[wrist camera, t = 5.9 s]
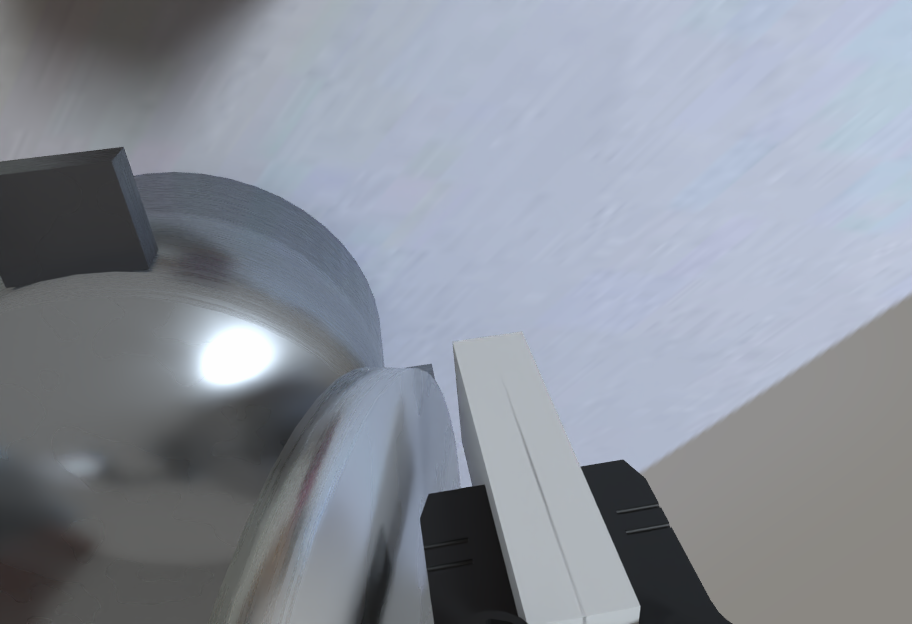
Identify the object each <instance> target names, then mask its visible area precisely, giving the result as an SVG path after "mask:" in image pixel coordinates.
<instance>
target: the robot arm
mask: <svg viewBox="0 0 912 624" xmlns="http://www.w3.org/2000/svg"><path fill="white" fill-rule="evenodd" d="M453 352H454V362H455V373H456V383H457V394H458V404H459V415H460V426H461V436H462V443H463V447H464V452H465V456H466V460H467V465H468V469H469V473H470V477H471V482H472V487H466V488H460V489H454V490H448V491H442V492H436V493H430V494H428V497H427V499H426V502H425V505H424V508H423V511H422V514H421V517H420V524H421V532H422V539H423V546H424V554H425V561H426V568H427V576H428V583H429V590H430V597H431V605H432V612H433V619H434V624H732V623H730V622H729V621H727V620H726V619H725V618H724V617H723V616H722V615H721V614H720V613H719V612H718V610H717V609H716V607H715V606H714V605H713V603H712V602H711V600H710V598H709V596H708V595H707V593H706V591H705V589H704V587H703V585H702V583H701V581H700V580H699V578H698V576H697V574H696V572H695V570H694V568H693V567H692V565H691V563H690V561H689V559H688V557H687V555H686V553H685V552H684V550H683V548H682V546H681V544H680V542H679V541H678V538H677V537H676V535H675V533H674V531H673V529H672V528H670V526H669V522H668V520H667V518H666V516H665V514H664V512H663V511H662V508H660V507H659V504H658V501H657V499H656V497H655V495H654V494H653V492H652V490H651V488H650V486H649V484H648V482H647V480H646V479H645V478H644V477H643V476H642V475H641V474H640V473H638V472H637V471H636V470H635V469H634V468H632V467H631V466H630V465H629V464H628V463H627V462H625V461H624V460H618V461H612V462H606V463H600V464H594V465H588V466H582V467H580V465H579V462H578V460H577V458H576V456H575V453H574V451H573V449H572V446H571V444H570V442H569V439H568V437H567V435H566V432H565V430H564V428H563V425H562V423H561V421H560V418H559V416H558V414H557V411H556V409H555V407H554V404H553V402H552V400H551V397H550V395H549V393H548V391H547V388H546V386H545V384H544V381H543V379H542V377H541V374H540V372H539V370H538V367H537V365H536V363H535V360H534V358H533V356H532V353H531V351H530V349H529V346H528V344H527V342H526V339H525V337H524V335H523V333H522V332H515V333H509V334H502V335H495V336H488V337H482V338H475V339H468V340H461V341H455V342H453Z"/></svg>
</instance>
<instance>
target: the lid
mask: <svg viewBox="0 0 912 624" xmlns="http://www.w3.org/2000/svg"><path fill="white" fill-rule="evenodd" d="M460 488H461V486H460V474H459V465H458V457H457V449H456V444H455V438H454V432H453V427H452V423H451V419H450V415H449V411H448V408H447V405H446V402H445V399H444V396H443V393H442V392H441V390H440V388H439V386H438V384H437V382H436V381H435V379H434V378H433V377H432V376H431V375H430V374H429V373H428V372H426V371H423V370H421V369H418V368H385V367H365V368H359V369H353V370H352V371H350V372H348V373H346V374H345V375H343V376H341V377H340V378H338V379H336V380H335V381H334V382H333V383H332V384H331V385H330V386H329V387H328V388H327V389H326V390H325V391H324V392H323V393H322V394H321V395H320V396H319V397H318V398H317V399H316V400H315V402H314V403H313V404H312V406H311V407H310V408H309V410H308V411H307V412H306V414H305V415H304V416H303V418H302V419H301V420H300V422H299V423H298V425H297V426H296V427H295V429H294V431H293V432H292V434H291V436H290V437H289V439H288V441H287V443H286V444H285V446H284V448H283V450H282V451H281V453H280V455H279V457H278V458H277V460H276V462H275V464H274V465H273V467H272V469H271V470H270V473H269V475H268V477H267V479H266V481H265V483H264V485H263V488H262V490H261V492H260V494H259V496H258V498H257V500H256V502H255V505H254V507H253V509H252V511H251V513H250V515H249V517H248V520H247V522H246V524H245V526H244V528H243V531H242V533H241V536H240V538H239V541H238V544H237V546H236V549H235V551H234V554H233V557H232V559H231V562H230V564H229V567H228V569H227V572H226V575H225V577H224V580H223V582H222V585H221V587H220V590H219V593H218V595H217V598H216V600H215V603H214V606H213V609H212V613H211V616H210V619H209V622H208V624H434V619H433V612H432V605H431V597H430V590H429V583H428V576H427V568H426V561H425V554H424V546H423V539H422V532H421V524H420V517H421V514H422V511H423V508H424V505H425V502H426V499H427V497H428V494H430V493H436V492H442V491H448V490H454V489H460Z"/></svg>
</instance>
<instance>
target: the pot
mask: <svg viewBox="0 0 912 624" xmlns="http://www.w3.org/2000/svg"><path fill="white" fill-rule="evenodd" d="M365 367H384V358H383V349H382V339H381V330H380V321H379V315H378V311H377V307H376V303H375V299H374V296H373V294H372V291H371V289H370V287H369V284H368V282H367V279H366V278H365V276H364V274H363V273H362V271H361V269H360V267H359V266H358V264H357V262H356V261H355V259H354V258H353V257H352V256H351V254H350V253H349V252H348V251H347V249H346V248H345V247H344V245H343V244H342V243H341V242H340V241H339V240H338V239H337V238H336V237H335V236H334V235H333V234H332V233H331V232H330V231H329V230H328V229H327V228H326V227H325V226H323V225H322V224H321V223H319V222H318V221H317V220H316V219H314V218H313V217H312V216H310V215H309V214H308V213H306V212H305V211H303V210H302V209H300V208H298V207H297V206H295V205H293V204H291V203H290V202H288V201H286V200H284V199H283V198H281V197H279V196H276V195H274V194H272V193H269V192H267V191H265V190H262V189H260V188H258V187H255V186H252V185H248V184H245V183H242V182H238V181H235V180H232V179H228V178H222V177H217V176H211V175H205V174H196V173H179V172H168V173H151V174H142V175H136V176H133V173H132V170H131V167H130V164H129V161H128V158H127V156H126V153H125V150H124V147H119V148H111V149H102V150H94V151H86V152H77V153H69V154H60V155H52V156H44V157H35V158H27V159H18V160H10V161H2V162H0V624H208V622H209V619H210V616H211V613H212V609H213V606H214V603H215V600H216V598H217V595H218V593H219V590H220V587H221V585H222V582H223V580H224V577H225V575H226V572H227V569H228V567H229V564H230V562H231V559H232V557H233V554H234V551H235V549H236V546H237V544H238V541H239V538H240V536H241V533H242V531H243V528H244V526H245V524H246V522H247V520H248V517H249V515H250V513H251V511H252V509H253V507H254V505H255V502H256V500H257V498H258V496H259V494H260V492H261V490H262V488H263V485H264V483H265V481H266V479H267V477H268V475H269V473H270V470H271V469H272V467H273V465H274V464H275V462H276V460H277V458H278V457H279V455H280V453H281V451H282V450H283V448H284V446H285V444H286V443H287V441H288V439H289V437H290V436H291V434H292V432H293V431H294V429H295V427H296V426H297V425H298V423H299V422H300V420H301V419H302V418H303V416H304V415H305V414H306V412H307V411H308V410H309V408H310V407H311V406H312V404H313V403H314V402H315V400H316V399H317V398H318V397H319V396H320V395H321V394H322V393H323V392H324V391H325V390H326V389H327V388H328V387H329V386H330V385H331V384H332V383H333V382H334V381H335V380H336V379H338V378H340V377H341V376H343V375H345V374H346V373H348V372H350V371H352V370H353V369H359V368H365ZM407 368H418V369H421V370H423V371H426V372H428V373H429V374H430V375H431V376H432V377H433V378H434V373H433V368H432V364H427V365H421V366H414V367H407ZM434 379H435V378H434Z"/></svg>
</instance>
